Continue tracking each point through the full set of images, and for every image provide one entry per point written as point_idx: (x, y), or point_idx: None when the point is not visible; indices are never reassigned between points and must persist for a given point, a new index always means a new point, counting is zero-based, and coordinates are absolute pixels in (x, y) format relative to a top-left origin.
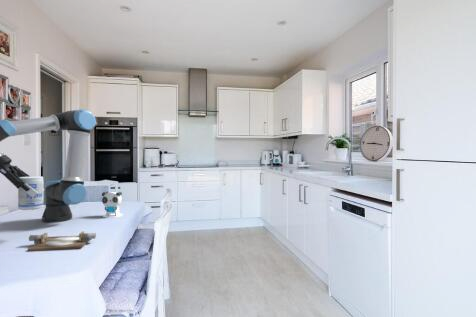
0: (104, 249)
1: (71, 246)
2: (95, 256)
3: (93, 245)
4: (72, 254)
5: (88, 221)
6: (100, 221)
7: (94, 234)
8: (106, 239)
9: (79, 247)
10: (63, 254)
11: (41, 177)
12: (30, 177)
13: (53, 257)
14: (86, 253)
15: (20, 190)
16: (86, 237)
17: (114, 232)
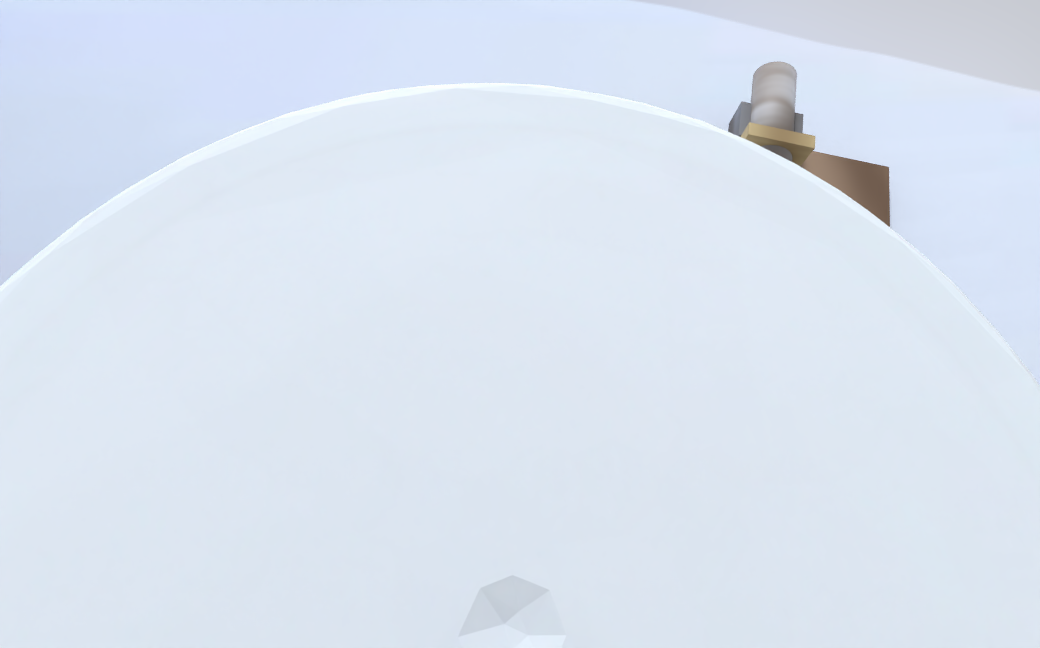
0: (908, 62)
1: (881, 219)
2: (1023, 99)
3: (819, 116)
4: (980, 211)
5: (19, 186)
6: (88, 93)
7: (790, 70)
8: (701, 53)
9: (884, 179)
10: (975, 259)
11: (656, 107)
12: (770, 602)
13: (1026, 305)
14: (969, 143)
15: None
16: (800, 124)
17: (534, 9)
